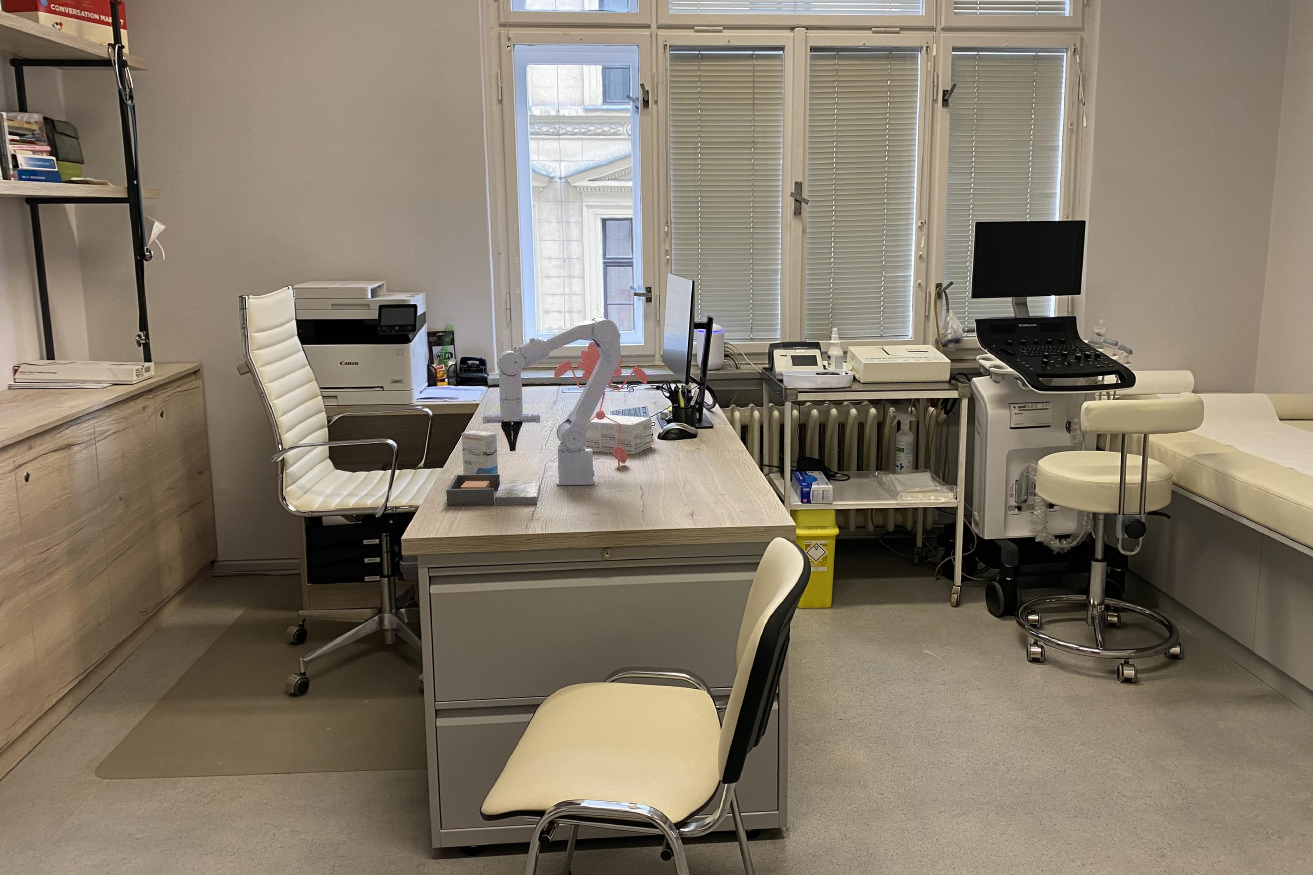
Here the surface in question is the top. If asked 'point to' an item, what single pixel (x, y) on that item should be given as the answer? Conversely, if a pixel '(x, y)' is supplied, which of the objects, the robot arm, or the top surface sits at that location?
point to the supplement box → (631, 437)
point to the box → (472, 490)
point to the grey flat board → (518, 493)
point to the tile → (476, 485)
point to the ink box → (479, 452)
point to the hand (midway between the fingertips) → (512, 450)
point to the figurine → (588, 366)
